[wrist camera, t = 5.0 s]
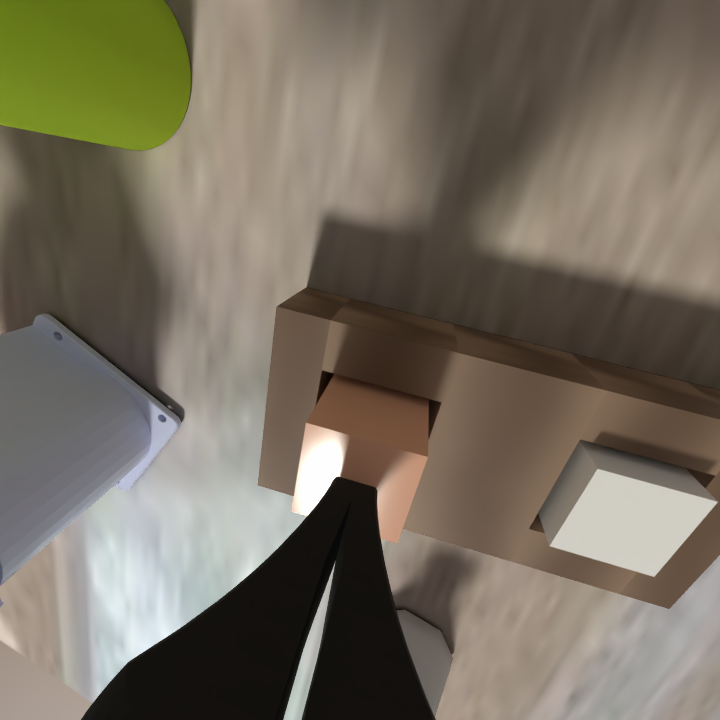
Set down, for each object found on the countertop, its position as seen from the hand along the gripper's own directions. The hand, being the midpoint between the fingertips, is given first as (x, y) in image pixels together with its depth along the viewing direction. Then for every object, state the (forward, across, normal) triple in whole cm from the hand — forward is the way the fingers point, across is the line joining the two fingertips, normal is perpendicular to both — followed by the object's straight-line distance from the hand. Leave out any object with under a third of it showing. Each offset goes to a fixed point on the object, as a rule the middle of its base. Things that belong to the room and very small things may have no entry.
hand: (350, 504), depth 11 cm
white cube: (+7, -10, 0) cm, 12 cm away
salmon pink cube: (+5, 0, 0) cm, 5 cm away
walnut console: (+7, -5, 0) cm, 9 cm away
